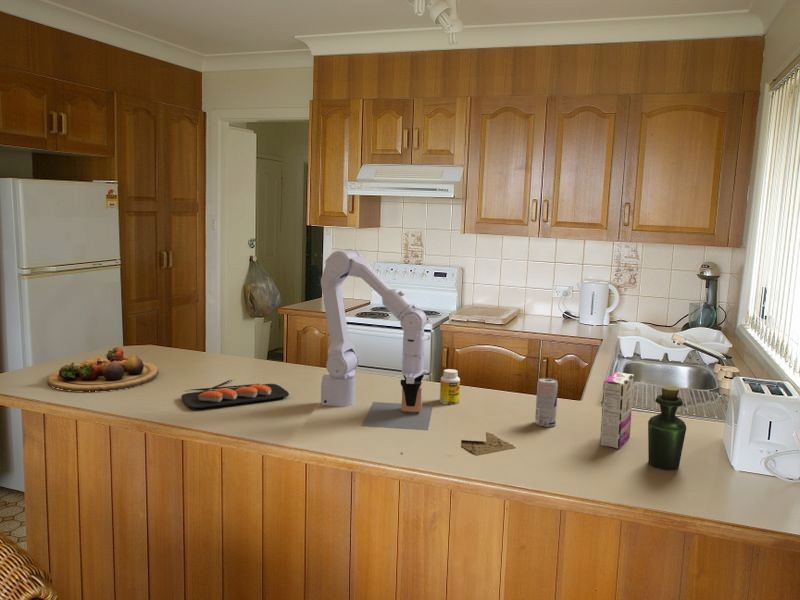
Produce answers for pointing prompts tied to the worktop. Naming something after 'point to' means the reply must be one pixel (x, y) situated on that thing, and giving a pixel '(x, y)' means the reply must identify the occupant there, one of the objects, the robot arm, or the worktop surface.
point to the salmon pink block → (417, 404)
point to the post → (410, 412)
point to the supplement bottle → (450, 387)
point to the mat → (397, 417)
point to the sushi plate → (233, 395)
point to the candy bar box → (616, 409)
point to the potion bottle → (666, 431)
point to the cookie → (486, 445)
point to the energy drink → (546, 402)
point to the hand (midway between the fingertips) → (411, 402)
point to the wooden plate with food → (104, 373)
